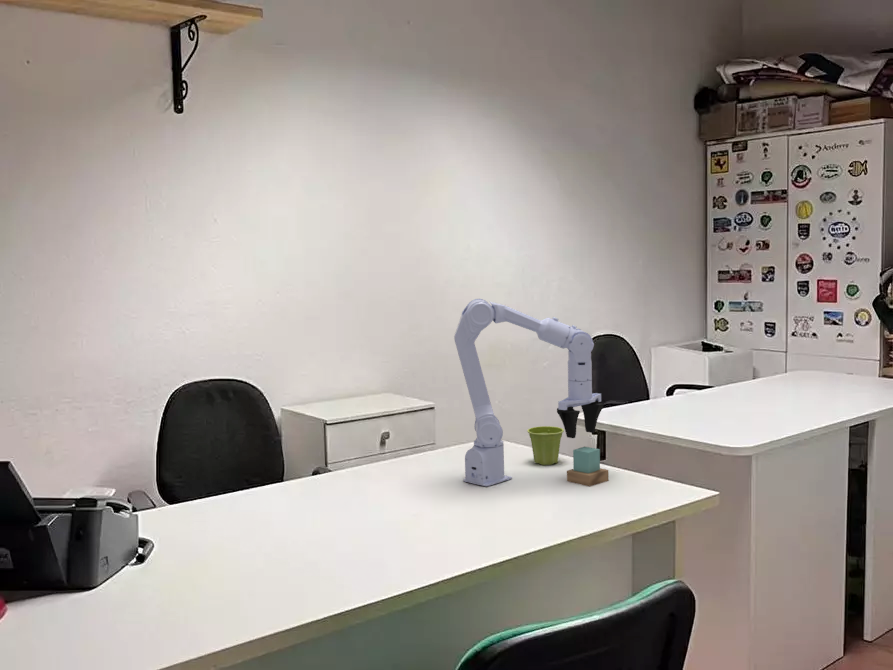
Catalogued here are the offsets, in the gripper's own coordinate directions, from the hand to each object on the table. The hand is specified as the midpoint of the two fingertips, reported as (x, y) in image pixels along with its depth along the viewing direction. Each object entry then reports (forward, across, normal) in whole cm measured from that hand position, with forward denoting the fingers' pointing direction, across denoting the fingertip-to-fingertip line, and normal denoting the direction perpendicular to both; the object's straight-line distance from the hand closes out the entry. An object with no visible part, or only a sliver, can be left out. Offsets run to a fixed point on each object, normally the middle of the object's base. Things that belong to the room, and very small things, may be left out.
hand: (580, 434), depth 218 cm
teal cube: (+8, -2, -3) cm, 9 cm away
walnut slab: (+11, -2, -4) cm, 12 cm away
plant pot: (+11, +6, +16) cm, 20 cm away
